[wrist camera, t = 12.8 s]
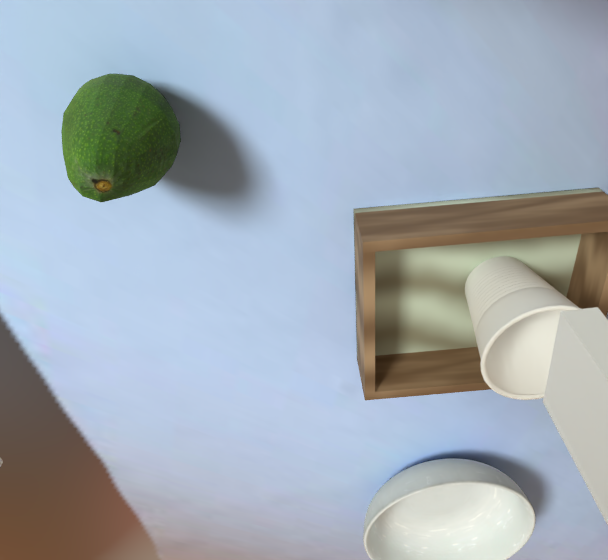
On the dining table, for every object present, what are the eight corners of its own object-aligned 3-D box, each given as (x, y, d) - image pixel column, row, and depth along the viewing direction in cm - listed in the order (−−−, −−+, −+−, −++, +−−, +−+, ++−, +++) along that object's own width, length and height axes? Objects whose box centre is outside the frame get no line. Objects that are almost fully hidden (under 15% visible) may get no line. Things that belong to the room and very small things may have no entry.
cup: (484, 220, 50) (533, 289, 40) (567, 259, 52) (631, 331, 43) (424, 302, 54) (457, 380, 45) (504, 333, 57) (550, 413, 48)
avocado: (85, 151, 45) (32, 218, 35) (85, 51, 41) (25, 96, 31) (183, 169, 46) (159, 239, 36) (193, 74, 42) (169, 124, 32)
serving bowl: (331, 468, 70) (336, 518, 64) (492, 412, 65) (513, 460, 60) (389, 548, 80) (398, 597, 75) (530, 505, 76) (552, 553, 70)
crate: (353, 208, 49) (362, 242, 44) (598, 187, 49) (635, 218, 44) (357, 359, 59) (365, 400, 54) (560, 341, 59) (587, 380, 54)
